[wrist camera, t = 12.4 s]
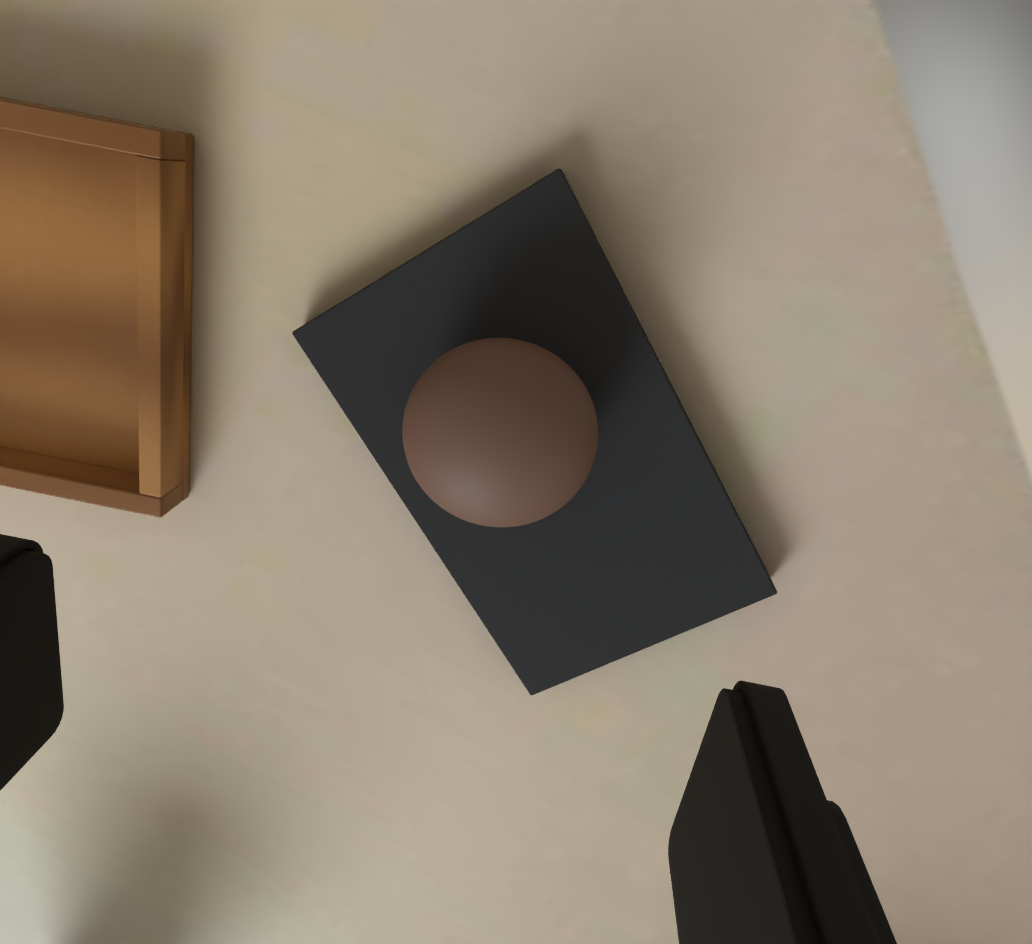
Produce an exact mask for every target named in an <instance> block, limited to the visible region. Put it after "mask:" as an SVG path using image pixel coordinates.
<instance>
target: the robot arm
mask: <svg viewBox="0 0 1032 944" xmlns="http://www.w3.org/2000/svg"><path fill="white" fill-rule="evenodd" d="M63 708H64V704H63V692H62V679H61V666H60V654H59V641H58V629H57V616H56V603H55V591H54V578H53V566H52V561H51V559H50V557H49V556H48V555H46V554H43V550H42V548H41V546H40V545H39V543H37V542H35V541H32V540H27V539H22V538H17V537H12V536H7V535H2V534H0V790H1V789H2V788H3V787H4V786H5V785H6V784H7V783H8V782H9V781H10V780H11V779H12V778H13V776H14V775H15V774H16V773H17V772H18V771H19V770H20V769H21V768H22V767H23V766H24V765H25V764H26V763H27V762H28V761H29V759H30V758H31V757H32V756H33V755H34V754H35V753H36V752H37V751H38V750H39V749H40V748H41V747H42V746H43V745H44V744H45V742H46V741H47V740H48V739H49V738H50V737H51V736H52V735H53V733H54V732H55V731H56V729H57V727H58V726H59V724H60V721H61V719H62V715H63ZM668 855H669V866H670V874H671V882H672V890H673V898H674V906H675V914H676V922H677V930H678V938H679V944H897V943H896V941H895V938H894V936H893V933H892V931H891V928H890V926H889V923H888V921H887V918H886V916H885V913H884V911H883V908H882V906H881V904H880V901H879V899H878V896H877V894H876V891H875V889H874V886H873V884H872V881H871V879H870V876H869V874H868V872H867V869H866V867H865V864H864V862H863V859H862V857H861V854H860V852H859V849H858V847H857V844H856V842H855V840H854V837H853V835H852V832H851V830H850V827H849V825H848V822H847V820H846V818H845V816H844V814H843V812H842V810H841V808H840V807H839V806H838V805H837V804H835V803H834V802H833V801H828V800H826V797H825V795H824V792H823V789H822V787H821V784H820V782H819V779H818V776H817V774H816V771H815V769H814V766H813V764H812V761H811V758H810V756H809V753H808V751H807V748H806V745H805V743H804V740H803V738H802V735H801V733H800V730H799V727H798V725H797V722H796V720H795V717H794V714H793V712H792V709H791V707H790V704H789V702H788V699H787V696H786V694H785V693H784V691H783V690H782V689H780V688H776V687H771V686H766V685H761V684H756V683H750V682H745V681H739V682H737V683H736V685H735V686H734V688H733V690H730V689H725V688H724V689H722V690H721V691H720V693H719V695H718V698H717V700H716V703H715V706H714V709H713V712H712V715H711V718H710V720H709V723H708V726H707V729H706V732H705V735H704V737H703V740H702V743H701V746H700V749H699V752H698V755H697V757H696V760H695V763H694V766H693V769H692V772H691V774H690V777H689V780H688V783H687V786H686V789H685V791H684V794H683V797H682V800H681V803H680V806H679V809H678V811H677V814H676V817H675V820H674V823H673V826H672V829H671V832H670V838H669V849H668Z"/></svg>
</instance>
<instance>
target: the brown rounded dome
mask: <svg viewBox="0 0 1032 944" xmlns="http://www.w3.org/2000/svg"><path fill="white" fill-rule="evenodd" d="M402 437H403V446H404V451H405V455H406V459H407V462H408V465H409V467H410V469H411V472H412V474H413V476H414V477H415V479H416V481H417V482H418V484H419V485H420V487H421V488H422V489H423V490H424V492H425V493H426V494H427V495H428V496H429V497H430V498H431V499H432V500H433V501H434V502H435V503H436V504H437V505H439V506H440V507H441V508H443V509H444V510H446V511H447V512H449V513H450V514H452V515H454V516H456V517H458V518H460V519H462V520H465V521H467V522H470V523H474V524H478V525H482V526H488V527H515V526H521V525H525V524H529V523H532V522H535V521H538V520H540V519H543V518H545V517H547V516H549V515H551V514H552V513H554V512H556V511H557V510H559V509H560V508H561V507H563V506H564V505H565V504H566V503H567V502H568V501H570V500H571V499H572V498H573V496H574V495H575V494H576V493H577V492H578V491H579V489H580V488H581V487H582V485H583V484H584V482H585V480H586V479H587V477H588V475H589V473H590V471H591V468H592V466H593V463H594V460H595V456H596V452H597V446H598V422H597V416H596V411H595V408H594V404H593V402H592V399H591V397H590V394H589V392H588V390H587V389H586V387H585V385H584V384H583V382H582V381H581V379H580V378H579V376H578V375H577V374H576V373H575V372H574V370H573V369H572V368H571V367H570V366H569V365H568V364H567V363H565V362H564V361H563V360H562V359H560V358H559V357H558V356H556V355H555V354H553V353H552V352H550V351H548V350H546V349H545V348H542V347H540V346H538V345H535V344H533V343H530V342H526V341H523V340H518V339H511V338H487V339H480V340H476V341H472V342H469V343H466V344H463V345H460V346H458V347H456V348H454V349H452V350H450V351H448V352H447V353H445V354H444V355H442V356H441V357H439V358H438V359H437V360H436V361H435V362H433V363H432V364H431V365H430V366H429V367H428V368H427V369H426V370H425V372H424V373H423V374H422V375H421V377H420V378H419V379H418V381H417V382H416V384H415V386H414V388H413V389H412V391H411V394H410V396H409V398H408V401H407V404H406V407H405V411H404V417H403V426H402Z"/></svg>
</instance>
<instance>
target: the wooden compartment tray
mask: <svg viewBox="0 0 1032 944" xmlns="http://www.w3.org/2000/svg"><path fill="white" fill-rule="evenodd" d="M193 156H194V136H193V135H192V134H188V133H183V132H177V131H172V130H167V129H162V128H157V127H152V126H146V125H141V124H136V123H131V122H126V121H120V120H115V119H110V118H105V117H100V116H95V115H89V114H84V113H79V112H74V111H69V110H63V109H58V108H53V107H48V106H43V105H38V104H32V103H27V102H22V101H17V100H12V99H7V98H1V97H0V485H2V486H7V487H12V488H17V489H22V490H27V491H31V492H36V493H41V494H46V495H51V496H56V497H61V498H66V499H71V500H76V501H81V502H86V503H91V504H96V505H101V506H105V507H110V508H115V509H120V510H125V511H130V512H135V513H140V514H145V515H150V516H155V517H162V516H164V515H165V514H166V513H167V512H169V511H170V510H171V509H173V508H174V507H175V506H176V505H178V504H179V503H180V502H181V501H183V500H185V499H186V498H187V497H188V496H189V442H190V370H191V299H192V227H193Z"/></svg>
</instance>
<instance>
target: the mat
mask: <svg viewBox="0 0 1032 944" xmlns="http://www.w3.org/2000/svg"><path fill="white" fill-rule="evenodd" d="M293 335H294V337H295V338H296V340H297V341H298V343H299V344H300V346H301V347H302V349H303V350H304V352H305V354H306V355H307V357H308V358H309V360H310V361H311V363H312V364H313V366H314V367H315V369H316V370H317V372H318V373H319V375H320V376H321V378H322V379H323V381H324V382H325V384H326V385H327V387H328V388H329V390H330V391H331V393H332V394H333V396H334V398H335V399H336V401H337V402H338V404H339V405H340V407H341V408H342V410H343V411H344V413H345V414H346V416H347V417H348V419H349V420H350V422H351V423H352V425H353V426H354V428H355V429H356V431H357V432H358V434H359V435H360V437H361V438H362V440H363V441H364V443H365V445H366V446H367V448H368V449H369V451H370V452H371V454H372V455H373V457H374V458H375V460H376V461H377V463H378V464H379V466H380V467H381V469H382V470H383V472H384V473H385V475H386V476H387V478H388V479H389V481H390V482H391V484H392V485H393V487H394V488H395V490H396V492H397V493H398V495H399V496H400V498H401V499H402V501H403V502H404V504H405V505H406V507H407V508H408V510H409V511H410V513H411V514H412V516H413V517H414V519H415V520H416V522H417V523H418V525H419V526H420V528H421V529H422V531H423V532H424V534H425V536H426V537H427V539H428V540H429V542H430V543H431V545H432V546H433V548H434V549H435V551H436V552H437V554H438V555H439V557H440V558H441V560H442V561H443V563H444V564H445V566H446V567H447V569H448V570H449V572H450V573H451V575H452V576H453V578H454V579H455V581H456V583H457V584H458V586H459V587H460V589H461V590H462V592H463V593H464V595H465V596H466V598H467V599H468V601H469V602H470V604H471V605H472V607H473V608H474V610H475V611H476V613H477V614H478V616H479V617H480V619H481V620H482V622H483V623H484V625H485V627H486V628H487V630H488V631H489V633H490V634H491V636H492V637H493V639H494V640H495V642H496V643H497V645H498V646H499V648H500V649H501V651H502V652H503V654H504V655H505V657H506V658H507V660H508V661H509V663H510V664H511V666H512V667H513V669H514V670H515V672H516V674H517V675H518V677H519V678H520V680H521V681H522V683H523V684H524V686H525V687H526V689H527V690H528V692H529V693H530V695H534V694H536V693H539V692H541V691H543V690H546V689H548V688H551V687H553V686H555V685H558V684H560V683H563V682H565V681H568V680H570V679H572V678H575V677H577V676H580V675H582V674H584V673H587V672H589V671H592V670H594V669H596V668H599V667H601V666H604V665H606V664H608V663H611V662H613V661H616V660H618V659H621V658H623V657H625V656H628V655H630V654H633V653H635V652H637V651H640V650H642V649H645V648H647V647H649V646H652V645H654V644H657V643H659V642H661V641H664V640H666V639H669V638H671V637H674V636H676V635H678V634H681V633H683V632H686V631H688V630H690V629H693V628H695V627H698V626H700V625H702V624H705V623H707V622H710V621H712V620H714V619H717V618H719V617H722V616H724V615H727V614H729V613H731V612H734V611H736V610H739V609H741V608H743V607H746V606H748V605H751V604H753V603H755V602H758V601H760V600H763V599H765V598H767V597H770V596H772V595H775V594H777V591H776V589H775V587H774V584H773V582H772V580H771V578H770V576H769V574H768V572H767V570H766V568H765V566H764V564H763V563H762V561H761V559H760V557H759V555H758V553H757V551H756V549H755V547H754V545H753V543H752V541H751V539H750V537H749V535H748V533H747V531H746V529H745V527H744V525H743V523H742V521H741V520H740V518H739V516H738V514H737V512H736V510H735V508H734V506H733V504H732V502H731V500H730V498H729V496H728V494H727V492H726V490H725V488H724V486H723V484H722V482H721V480H720V479H719V477H718V475H717V473H716V471H715V469H714V467H713V465H712V463H711V461H710V459H709V457H708V455H707V453H706V451H705V449H704V447H703V445H702V443H701V441H700V439H699V437H698V436H697V434H696V432H695V430H694V428H693V426H692V424H691V422H690V420H689V418H688V416H687V414H686V412H685V410H684V408H683V406H682V404H681V402H680V400H679V398H678V396H677V394H676V393H675V391H674V389H673V387H672V385H671V383H670V381H669V379H668V377H667V375H666V373H665V371H664V369H663V367H662V365H661V363H660V361H659V359H658V357H657V355H656V353H655V352H654V350H653V348H652V346H651V344H650V342H649V340H648V338H647V336H646V334H645V332H644V330H643V328H642V326H641V324H640V322H639V320H638V318H637V316H636V314H635V312H634V310H633V309H632V307H631V305H630V303H629V301H628V299H627V297H626V295H625V293H624V291H623V289H622V287H621V285H620V283H619V281H618V279H617V277H616V275H615V273H614V271H613V269H612V267H611V266H610V264H609V262H608V260H607V258H606V256H605V254H604V252H603V250H602V248H601V246H600V244H599V242H598V240H597V238H596V236H595V234H594V232H593V230H592V228H591V226H590V225H589V223H588V221H587V219H586V217H585V215H584V213H583V211H582V209H581V207H580V205H579V203H578V201H577V199H576V197H575V195H574V193H573V191H572V189H571V187H570V185H569V183H568V182H567V180H566V178H565V176H564V174H563V172H562V170H561V169H557V170H555V171H554V172H552V173H551V174H549V175H547V176H546V177H544V178H542V179H541V180H539V181H538V182H536V183H534V184H533V185H531V186H529V187H528V188H526V189H525V190H523V191H521V192H520V193H518V194H516V195H515V196H513V197H511V198H510V199H508V200H507V201H505V202H503V203H502V204H500V205H498V206H497V207H495V208H494V209H492V210H490V211H489V212H487V213H485V214H484V215H482V216H481V217H479V218H477V219H476V220H474V221H472V222H471V223H469V224H468V225H466V226H464V227H463V228H461V229H459V230H458V231H456V232H454V233H453V234H451V235H450V236H448V237H446V238H445V239H443V240H441V241H440V242H438V243H437V244H435V245H433V246H432V247H430V248H428V249H427V250H425V251H424V252H422V253H420V254H419V255H417V256H415V257H414V258H412V259H411V260H409V261H407V262H406V263H404V264H402V265H401V266H399V267H397V268H396V269H394V270H393V271H391V272H389V273H388V274H386V275H384V276H383V277H381V278H380V279H378V280H376V281H375V282H373V283H371V284H370V285H368V286H367V287H365V288H363V289H362V290H360V291H358V292H357V293H355V294H354V295H352V296H350V297H349V298H347V299H345V300H344V301H342V302H340V303H339V304H337V305H336V306H334V307H332V308H331V309H329V310H327V311H326V312H324V313H323V314H321V315H319V316H318V317H316V318H314V319H313V320H311V321H310V322H308V323H306V324H305V325H303V326H301V327H300V328H298V329H297V330H295V331H293ZM487 338H511V339H518V340H523V341H526V342H530V343H533V344H535V345H538V346H540V347H542V348H545V349H546V350H548V351H550V352H552V353H553V354H555V355H556V356H558V357H559V358H560V359H562V360H563V361H564V362H565V363H567V364H568V365H569V366H570V367H571V368H572V369H573V370H574V372H575V373H576V374H577V375H578V376H579V378H580V379H581V381H582V382H583V384H584V385H585V387H586V389H587V390H588V392H589V394H590V397H591V399H592V402H593V404H594V408H595V411H596V416H597V422H598V446H597V452H596V456H595V460H594V463H593V466H592V468H591V471H590V473H589V475H588V477H587V479H586V480H585V482H584V484H583V485H582V487H581V488H580V489H579V491H578V492H577V493H576V494H575V495H574V496H573V498H572V499H571V500H570V501H568V502H567V503H566V504H565V505H564V506H563V507H561V508H560V509H559V510H557V511H556V512H554V513H552V514H551V515H549V516H547V517H545V518H543V519H540V520H538V521H535V522H532V523H529V524H525V525H521V526H515V527H488V526H482V525H478V524H474V523H470V522H467V521H465V520H462V519H460V518H458V517H456V516H454V515H452V514H450V513H449V512H447V511H446V510H444V509H443V508H441V507H440V506H439V505H437V504H436V503H435V502H434V501H433V500H432V499H431V498H430V497H429V496H428V495H427V494H426V493H425V492H424V490H423V489H422V488H421V487H420V485H419V484H418V482H417V481H416V479H415V477H414V476H413V474H412V472H411V469H410V467H409V465H408V462H407V459H406V455H405V451H404V446H403V437H402V426H403V417H404V411H405V407H406V404H407V401H408V398H409V396H410V394H411V391H412V389H413V388H414V386H415V384H416V382H417V381H418V379H419V378H420V377H421V375H422V374H423V373H424V372H425V370H426V369H427V368H428V367H429V366H430V365H431V364H432V363H433V362H435V361H436V360H437V359H438V358H439V357H441V356H442V355H444V354H445V353H447V352H448V351H450V350H452V349H454V348H456V347H458V346H460V345H463V344H466V343H469V342H472V341H476V340H480V339H487Z"/></svg>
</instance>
